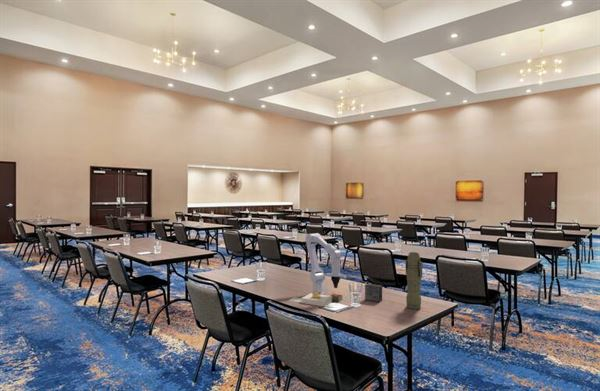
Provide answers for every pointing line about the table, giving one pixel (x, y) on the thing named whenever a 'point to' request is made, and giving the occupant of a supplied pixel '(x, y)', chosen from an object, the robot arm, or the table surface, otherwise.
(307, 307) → the table surface
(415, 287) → the thermos
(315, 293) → the billet
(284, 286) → the table surface
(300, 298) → the billet mat
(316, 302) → the block
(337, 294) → the button cap
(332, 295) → the button console
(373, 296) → the small box
